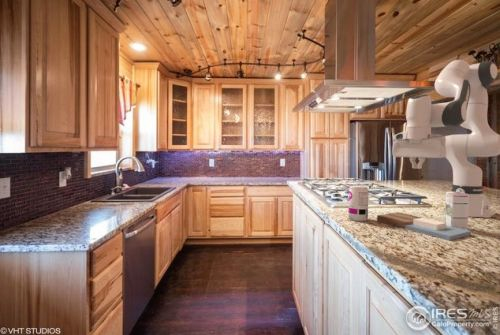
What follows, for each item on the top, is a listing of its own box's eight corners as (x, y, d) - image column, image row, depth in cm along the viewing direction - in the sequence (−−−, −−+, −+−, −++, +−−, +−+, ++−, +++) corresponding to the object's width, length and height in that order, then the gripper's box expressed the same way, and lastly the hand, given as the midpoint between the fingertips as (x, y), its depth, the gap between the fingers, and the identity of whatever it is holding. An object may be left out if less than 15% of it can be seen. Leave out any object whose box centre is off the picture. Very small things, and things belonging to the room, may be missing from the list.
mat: (426, 224, 115) (426, 220, 115) (471, 234, 100) (471, 230, 100) (405, 228, 108) (405, 224, 108) (449, 240, 94) (449, 236, 94)
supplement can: (347, 220, 121) (348, 187, 120) (348, 216, 128) (349, 184, 128) (367, 222, 118) (368, 188, 117) (367, 218, 125) (368, 185, 124)
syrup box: (468, 231, 105) (470, 194, 104) (451, 230, 106) (452, 193, 105) (460, 227, 111) (461, 191, 110) (443, 226, 112) (445, 191, 111)
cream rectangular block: (422, 222, 112) (422, 217, 112) (446, 228, 104) (446, 223, 104) (413, 224, 109) (413, 219, 109) (436, 230, 101) (437, 224, 101)
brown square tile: (397, 217, 126) (397, 212, 126) (426, 224, 115) (426, 218, 115) (376, 221, 120) (377, 215, 120) (405, 228, 108) (405, 222, 108)
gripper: (450, 133, 104) (448, 169, 105) (399, 135, 122) (398, 166, 123) (441, 133, 101) (439, 170, 102) (390, 135, 119) (389, 167, 120)
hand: (416, 168), depth 113 cm, fingers closed
